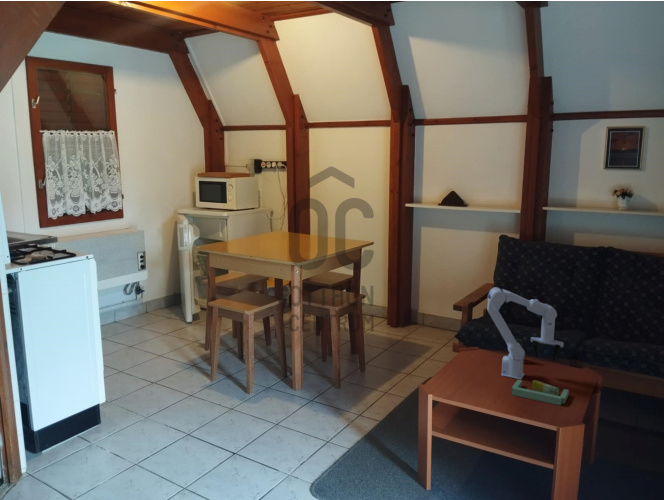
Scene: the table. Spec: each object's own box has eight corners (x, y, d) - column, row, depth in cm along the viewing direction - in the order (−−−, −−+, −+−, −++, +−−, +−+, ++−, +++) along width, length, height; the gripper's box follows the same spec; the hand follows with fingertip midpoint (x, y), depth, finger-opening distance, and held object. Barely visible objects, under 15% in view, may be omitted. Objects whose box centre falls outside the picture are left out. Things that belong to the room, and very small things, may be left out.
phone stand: (520, 364, 282) (521, 341, 280) (508, 362, 284) (509, 340, 283) (521, 358, 290) (523, 336, 288) (510, 357, 293) (511, 335, 291)
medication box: (558, 396, 242) (559, 388, 242) (555, 398, 241) (556, 389, 240) (534, 387, 252) (535, 379, 251) (531, 389, 250) (531, 380, 250)
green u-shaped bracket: (510, 394, 243) (510, 387, 243) (517, 384, 255) (517, 378, 254) (563, 406, 232) (563, 399, 232) (568, 395, 243) (568, 388, 243)
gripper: (565, 331, 261) (563, 359, 263) (533, 326, 269) (532, 353, 271) (562, 335, 255) (560, 363, 257) (530, 330, 263) (528, 357, 265)
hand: (545, 358), depth 263 cm, fingers open, 7 cm apart
